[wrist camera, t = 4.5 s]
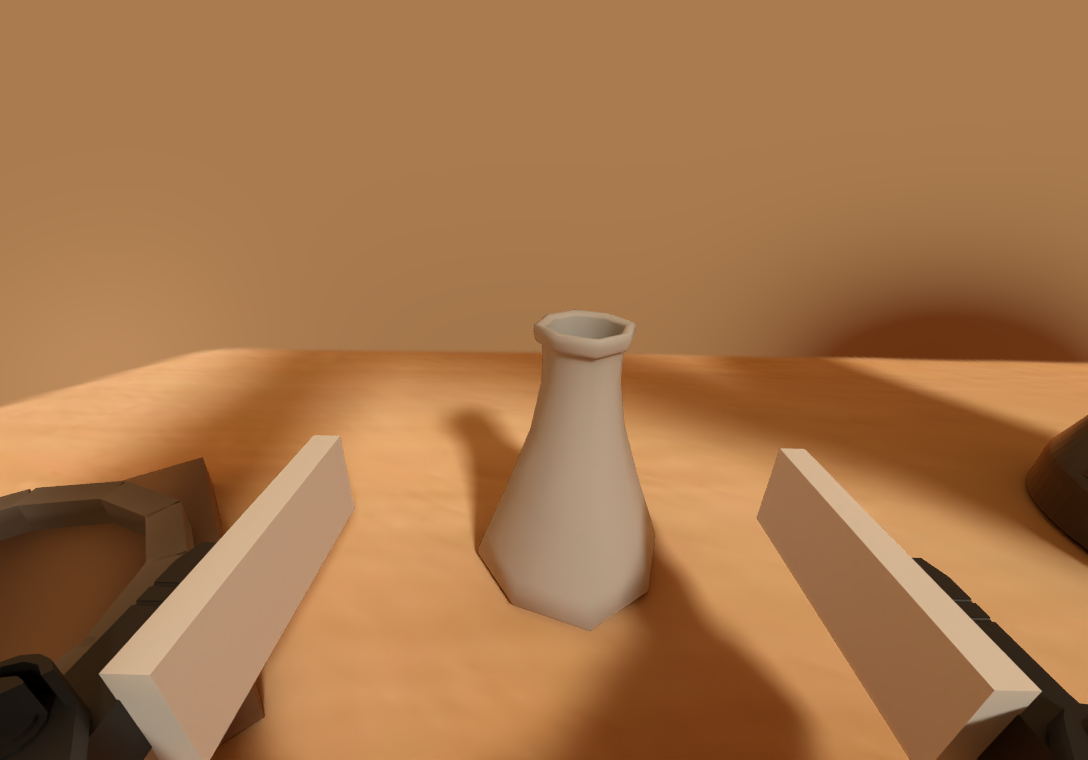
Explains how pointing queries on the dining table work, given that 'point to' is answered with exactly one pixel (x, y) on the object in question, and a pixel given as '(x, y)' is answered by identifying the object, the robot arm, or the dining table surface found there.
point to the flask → (574, 484)
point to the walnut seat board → (98, 560)
